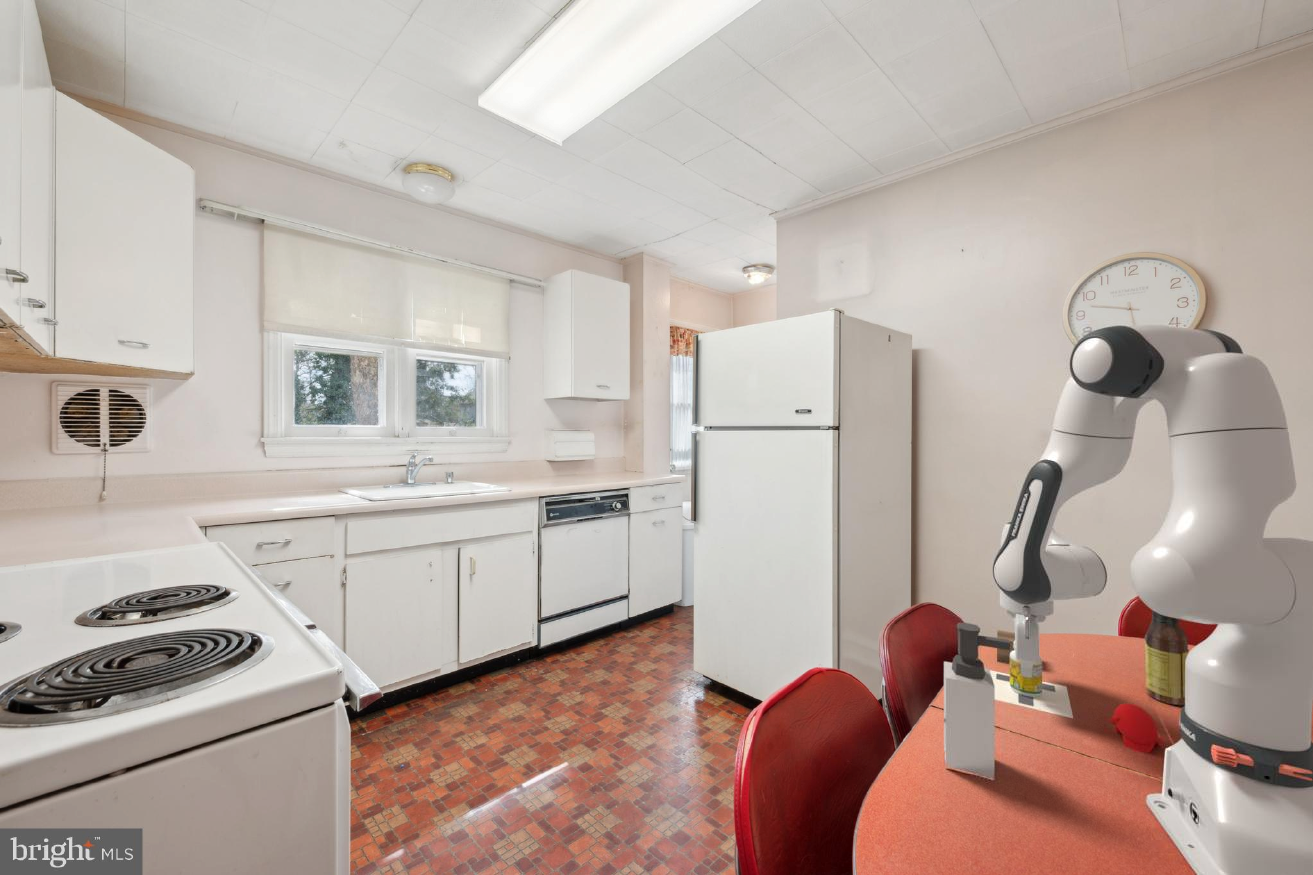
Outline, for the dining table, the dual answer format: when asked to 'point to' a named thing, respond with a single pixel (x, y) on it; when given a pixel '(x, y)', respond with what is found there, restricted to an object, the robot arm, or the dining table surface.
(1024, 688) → the supplement bottle
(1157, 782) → the dining table surface
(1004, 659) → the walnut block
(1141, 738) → the red rounded lump
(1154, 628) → the sauce bottle
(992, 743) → the soap dispenser
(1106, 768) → the dining table surface
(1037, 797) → the dining table surface
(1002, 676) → the letter tile
